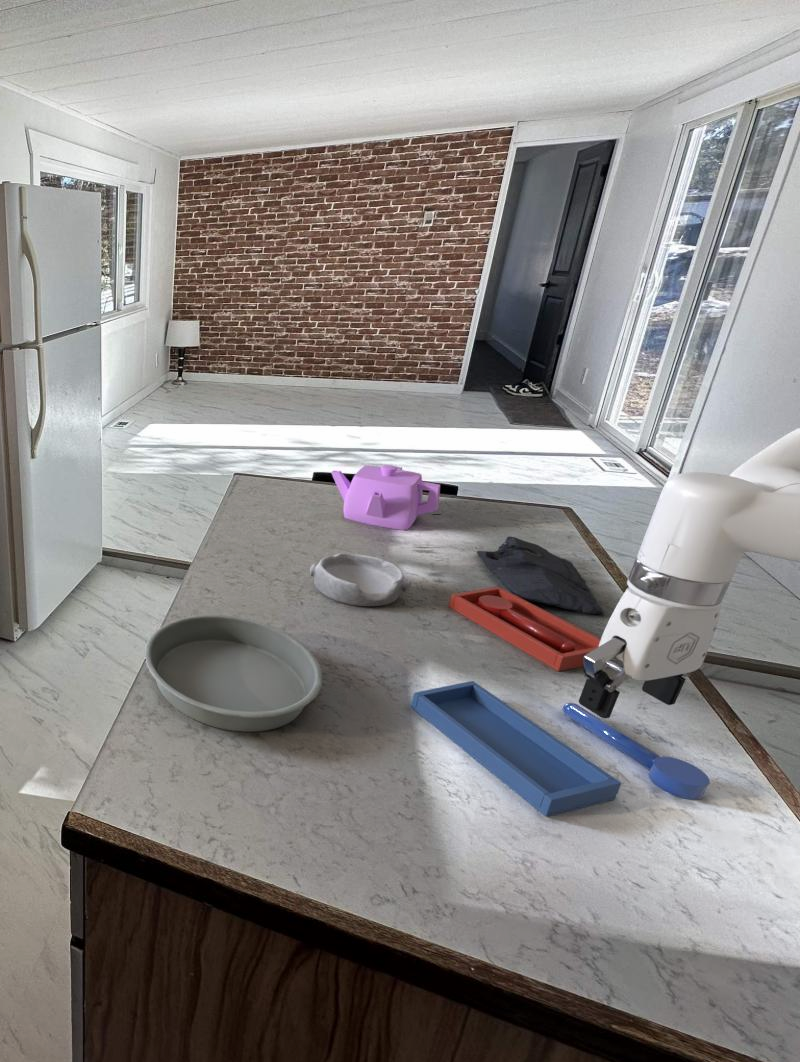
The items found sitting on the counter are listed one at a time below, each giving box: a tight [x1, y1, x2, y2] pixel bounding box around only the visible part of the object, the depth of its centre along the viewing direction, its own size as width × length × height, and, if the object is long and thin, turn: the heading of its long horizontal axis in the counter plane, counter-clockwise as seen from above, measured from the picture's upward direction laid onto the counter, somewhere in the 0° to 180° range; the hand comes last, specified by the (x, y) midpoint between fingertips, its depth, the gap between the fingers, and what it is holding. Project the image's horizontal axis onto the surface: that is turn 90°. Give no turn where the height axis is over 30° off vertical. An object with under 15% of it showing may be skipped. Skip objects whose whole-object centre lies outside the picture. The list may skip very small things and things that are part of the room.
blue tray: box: [410, 680, 622, 817], centre depth 80 cm, size 19×10×2 cm, turn 12°
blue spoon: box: [561, 702, 711, 801], centre depth 79 cm, size 15×5×2 cm, turn 12°
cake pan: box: [144, 614, 323, 733], centre depth 95 cm, size 25×25×4 cm
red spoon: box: [477, 595, 575, 653], centre depth 103 cm, size 15×5×2 cm, turn 12°
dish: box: [309, 552, 412, 607], centre depth 117 cm, size 14×14×5 cm
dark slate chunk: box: [476, 536, 605, 615], centre depth 116 cm, size 15×22×5 cm
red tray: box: [448, 586, 601, 672], centre depth 103 cm, size 19×10×2 cm, turn 12°
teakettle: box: [330, 464, 441, 531], centre depth 145 cm, size 17×17×12 cm
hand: (625, 704), depth 78 cm, fingers open, 9 cm apart
